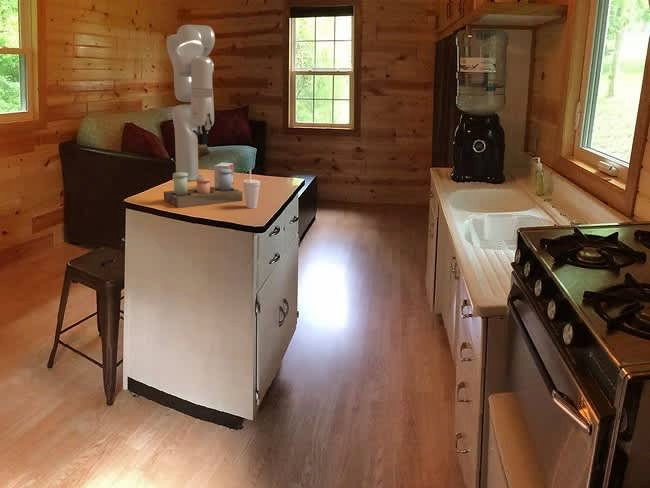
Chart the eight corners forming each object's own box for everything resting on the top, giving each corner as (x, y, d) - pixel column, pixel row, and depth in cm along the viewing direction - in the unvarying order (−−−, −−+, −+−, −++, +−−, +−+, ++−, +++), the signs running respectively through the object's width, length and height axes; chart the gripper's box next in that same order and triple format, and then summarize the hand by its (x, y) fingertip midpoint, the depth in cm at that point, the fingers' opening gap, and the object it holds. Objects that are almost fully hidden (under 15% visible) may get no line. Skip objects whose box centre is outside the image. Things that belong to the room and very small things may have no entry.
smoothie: (244, 204, 232) (244, 167, 228) (261, 205, 232) (261, 168, 228) (241, 208, 226) (241, 170, 222) (259, 209, 226) (259, 171, 222)
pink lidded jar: (193, 198, 236) (193, 178, 234) (206, 197, 239) (206, 176, 237) (200, 201, 232) (199, 180, 229) (213, 199, 235) (213, 179, 233)
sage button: (171, 193, 230) (170, 172, 228) (184, 192, 233) (184, 171, 231) (177, 196, 226) (176, 175, 223) (191, 195, 229) (190, 174, 227)
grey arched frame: (227, 192, 251) (227, 166, 248) (214, 191, 252) (214, 165, 249) (234, 188, 259) (234, 163, 256) (221, 187, 260) (221, 162, 257)
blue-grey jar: (215, 189, 240) (215, 169, 238) (227, 188, 243) (227, 168, 241) (221, 192, 236) (221, 171, 234) (234, 190, 239) (234, 170, 237)
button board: (164, 200, 233) (163, 191, 232) (226, 193, 248) (226, 185, 247) (178, 208, 223) (178, 198, 222) (242, 200, 238) (242, 191, 237)
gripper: (183, 91, 227) (184, 141, 233) (201, 95, 216) (202, 148, 222) (202, 91, 232) (202, 140, 237) (220, 95, 220) (221, 147, 226)
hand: (202, 144), depth 230 cm, fingers closed
